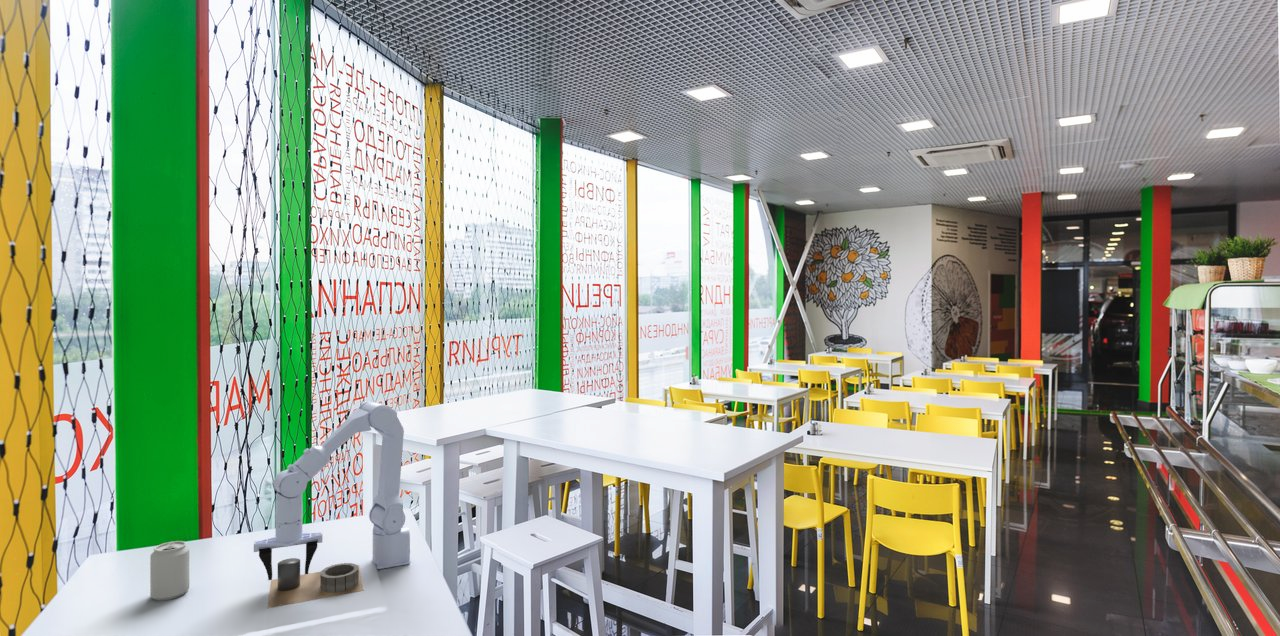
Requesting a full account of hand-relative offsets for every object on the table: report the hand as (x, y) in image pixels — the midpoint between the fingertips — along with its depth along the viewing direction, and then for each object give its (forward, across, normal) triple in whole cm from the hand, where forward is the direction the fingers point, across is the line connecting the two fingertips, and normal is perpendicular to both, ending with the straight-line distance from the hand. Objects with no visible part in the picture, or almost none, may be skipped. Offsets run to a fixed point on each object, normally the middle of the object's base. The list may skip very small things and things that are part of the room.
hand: (288, 575), depth 151 cm
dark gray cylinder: (+3, 0, 0) cm, 3 cm away
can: (+4, -25, +10) cm, 27 cm away
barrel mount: (+4, +6, -2) cm, 7 cm away
